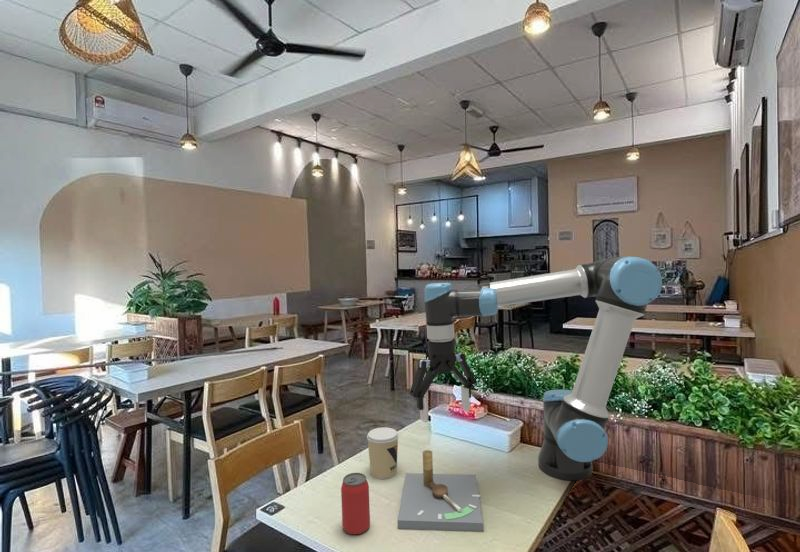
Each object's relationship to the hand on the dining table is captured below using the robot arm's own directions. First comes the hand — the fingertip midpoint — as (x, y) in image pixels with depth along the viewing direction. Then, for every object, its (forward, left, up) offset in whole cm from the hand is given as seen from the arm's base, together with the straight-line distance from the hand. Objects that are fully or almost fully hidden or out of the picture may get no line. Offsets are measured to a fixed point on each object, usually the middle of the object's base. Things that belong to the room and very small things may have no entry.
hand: (445, 415), depth 117 cm
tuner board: (+2, +8, -20) cm, 22 cm away
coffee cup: (+19, -7, -21) cm, 29 cm away
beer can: (+22, +19, -21) cm, 35 cm away
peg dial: (+2, +8, -18) cm, 20 cm away
